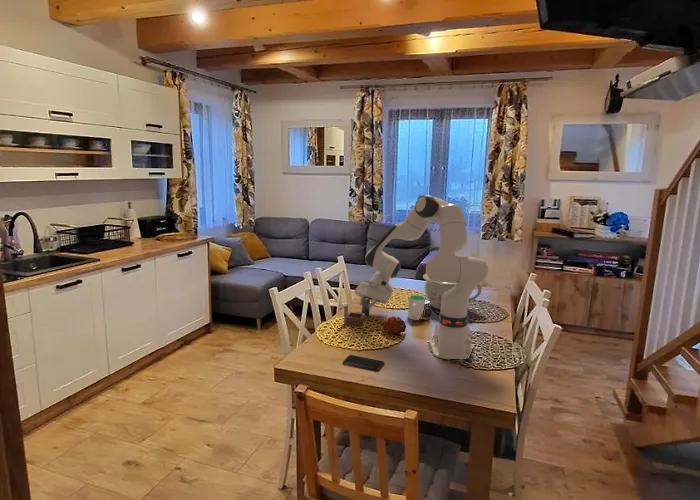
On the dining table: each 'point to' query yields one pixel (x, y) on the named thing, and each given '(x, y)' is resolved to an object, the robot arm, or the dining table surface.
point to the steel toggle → (365, 306)
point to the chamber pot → (440, 291)
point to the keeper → (353, 317)
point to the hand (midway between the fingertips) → (364, 306)
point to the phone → (364, 363)
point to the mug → (416, 306)
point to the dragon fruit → (394, 325)
